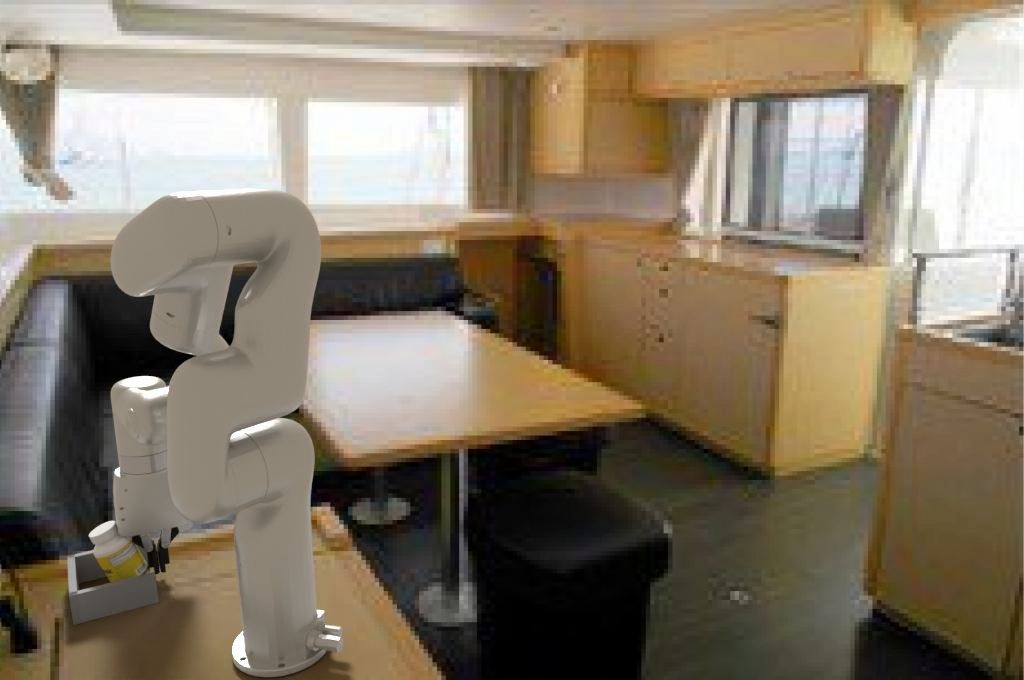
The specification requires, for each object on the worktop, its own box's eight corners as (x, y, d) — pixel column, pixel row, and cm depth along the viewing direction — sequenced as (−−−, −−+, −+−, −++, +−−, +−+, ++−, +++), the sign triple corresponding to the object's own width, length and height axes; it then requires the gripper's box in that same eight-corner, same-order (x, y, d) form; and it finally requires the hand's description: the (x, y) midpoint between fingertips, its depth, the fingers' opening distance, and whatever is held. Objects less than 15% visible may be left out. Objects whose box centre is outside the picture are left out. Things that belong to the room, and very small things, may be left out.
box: (149, 563, 124) (145, 538, 122) (158, 602, 113) (155, 574, 112) (71, 582, 118) (67, 555, 117) (73, 625, 107) (68, 596, 106)
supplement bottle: (113, 584, 118) (82, 532, 115) (148, 564, 120) (118, 513, 117) (117, 597, 113) (85, 544, 110) (153, 576, 116) (123, 523, 113)
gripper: (196, 442, 121) (206, 547, 125) (89, 459, 114) (104, 570, 118) (203, 458, 115) (214, 568, 119) (91, 478, 108) (106, 594, 112)
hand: (159, 569), depth 119 cm, fingers closed
